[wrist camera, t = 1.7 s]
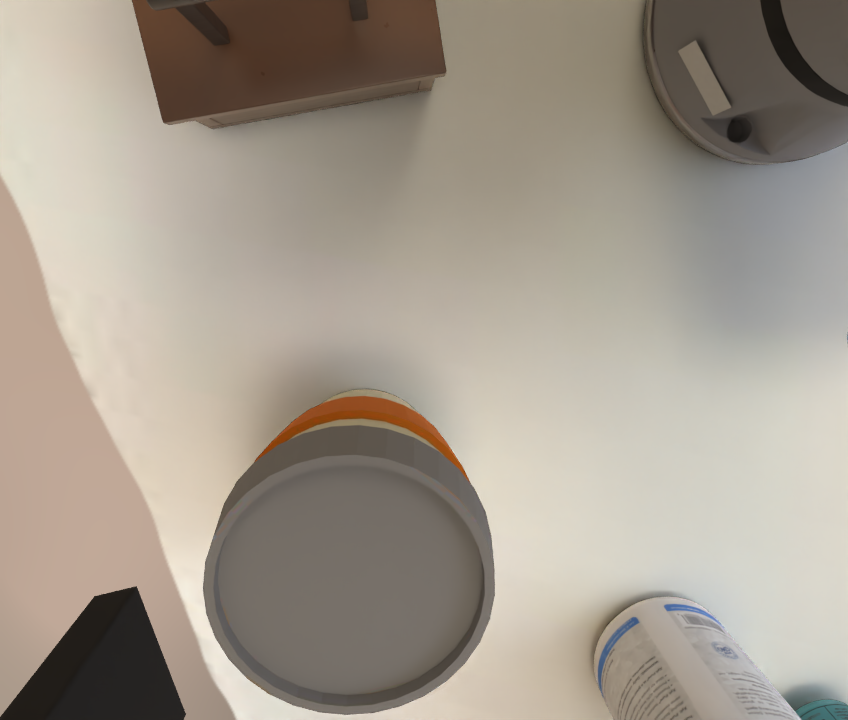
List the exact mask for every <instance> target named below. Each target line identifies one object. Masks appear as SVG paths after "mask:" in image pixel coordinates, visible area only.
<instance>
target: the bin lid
mask: <svg viewBox="0 0 848 720" xmlns="http://www.w3.org/2000/svg"><path fill="white" fill-rule="evenodd" d="M132 2H133V6H134V10H135V14H136V18H137V22H138V26H139V30H140V34H141V38H142V42H143V46H144V50H145V54H146V57H147V61H148V65H149V69H150V73H151V77H152V81H153V85H154V89H155V93H156V97H157V101H158V105H159V109H160V112H161V116H162V120H163V123H165V124H168V125H173V124H179V123H185V122H190V121H196V120H201V119H207V118H213V117H218V116H224V115H230V114H235V113H241V112H247V111H252V110H258V109H263V108H269V107H275V106H280V105H286V104H292V103H297V102H303V101H308V100H314V99H320V98H325V97H331V96H337V95H342V94H348V93H353V92H359V91H365V90H370V89H376V88H382V87H387V86H393V85H399V84H404V83H410V82H415V81H421V80H427V79H432V78H438V77H444V76H445V74H446V66H445V60H444V53H443V47H442V40H441V34H440V27H439V21H438V14H437V8H436V1H435V0H132Z"/></svg>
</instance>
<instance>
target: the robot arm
mask: <svg viewBox="0 0 848 720" xmlns="http://www.w3.org/2000/svg"><path fill="white" fill-rule="evenodd" d="M643 35H644V51H645V59H646V64H647V69H648V73H649V76H650V80H651V83H652V86H653V88H654V91H655V93H656V95H657V98H658V100H659V101H660V103H661V105H662V107H663V109H664V110H665V112H666V113H667V115H668V116H669V118H670V119H671V120H672V122H673V123H674V124H675V125H676V126H677V127H678V129H679V130H680V131H681V132H682V133H683V134H685V135H686V136H687V137H688V138H689V139H690V140H692V141H693V142H694V143H695V144H697V145H698V146H700V147H701V148H703V149H705V150H706V151H708V152H710V153H712V154H715V155H717V156H719V157H722V158H725V159H728V160H731V161H735V162H740V163H747V164H775V163H784V162H791V161H796V160H801V159H806V158H809V157H812V156H815V155H818V154H820V153H823V152H826V151H828V150H831V149H833V148H836V147H838V146H840V145H842V144H844V143H846V142H848V0H647V1H646V8H645V14H644V28H643ZM847 342H848V334H847ZM185 715H186V713H185V711H184V708H183V706H182V703H181V701H180V698H179V696H178V693H177V690H176V687H175V685H174V682H173V680H172V677H171V675H170V672H169V669H168V667H167V664H166V662H165V659H164V656H163V654H162V651H161V649H160V646H159V644H158V641H157V638H156V636H155V633H154V631H153V628H152V625H151V623H150V620H149V617H148V615H147V612H146V610H145V607H144V604H143V602H142V599H141V597H140V594H139V591H138V589H137V587H132V588H127V589H123V590H119V591H115V592H111V593H107V594H102V595H99V596H94V598H93V599H92V600H91V602H90V603H89V604H88V605H87V607H86V608H85V609H84V611H83V612H82V613H81V614H80V616H79V617H78V618H77V620H76V621H75V622H74V623H73V625H72V626H71V627H70V629H69V630H68V631H67V632H66V634H65V635H64V636H63V637H62V639H61V640H60V641H59V643H58V644H57V645H56V646H55V648H54V649H53V650H52V652H51V653H50V654H49V655H48V657H47V658H46V659H45V661H44V662H43V663H42V664H41V666H40V667H39V668H38V670H37V671H36V672H35V673H34V675H33V676H32V677H31V678H30V680H29V681H28V682H27V684H26V685H25V686H24V687H23V689H22V690H21V691H20V693H19V694H18V695H17V697H16V698H15V699H14V700H13V702H12V703H11V704H10V705H9V707H8V708H7V709H6V710H5V712H4V713H3V714H2V716H1V717H0V720H184V717H185Z"/></svg>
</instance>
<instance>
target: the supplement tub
mask: <svg viewBox="0 0 848 720" xmlns="http://www.w3.org/2000/svg"><path fill="white" fill-rule="evenodd" d="M594 673H595V678H596V682H597V684H598V686H599V689H600V691H601V693H602V696H603V698H604V700H605V702H606V705H607V707H608V709H609V711H610V713H611V715H612V717H613V720H802V719H801V718H800V717H799V716H798V715H797V713H796V712H795V711H794V710H793V709H792V708H791V706H790V705H789V704H788V703H787V702H786V700H785V699H784V698H783V697H782V696H781V695H780V693H779V692H778V691H777V690H776V689H775V687H774V686H773V685H772V684H771V683H770V681H769V680H768V679H767V678H766V677H765V676H764V674H763V673H762V672H761V671H760V670H759V668H758V667H757V666H756V665H755V664H754V663H753V661H752V660H751V659H750V658H749V657H748V656H747V654H746V653H745V652H744V651H743V650H742V648H741V647H740V646H739V645H738V644H737V643H736V641H735V640H734V639H733V638H732V637H731V635H730V634H729V633H728V632H727V631H726V630H725V628H724V627H723V626H722V625H721V624H720V623H719V621H718V620H717V619H716V618H715V617H714V616H713V615H712V614H711V613H710V612H709V611H708V610H706V609H705V608H704V607H702V606H701V605H699V604H697V603H695V602H692V601H690V600H687V599H683V598H678V597H656V598H651V599H647V600H643V601H641V602H638V603H636V604H634V605H632V606H630V607H628V608H627V609H625V610H624V611H623V612H621V613H620V614H619V615H618V616H617V617H615V618H614V619H613V620H612V621H611V622H610V623H609V625H608V626H607V627H606V628H605V630H604V631H603V633H602V635H601V636H600V639H599V641H598V644H597V646H596V651H595V656H594Z"/></svg>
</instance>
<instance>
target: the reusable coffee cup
mask: <svg viewBox="0 0 848 720" xmlns="http://www.w3.org/2000/svg"><path fill="white" fill-rule="evenodd" d="M203 592H204V599H205V607H206V614H207V616H208V619H209V622H210V625H211V627H212V630H213V633H214V636H215V638H216V640H217V641H218V643H219V644H220V646H221V648H222V649H223V651H224V652H225V654H226V656H227V657H228V659H229V660H230V661H231V662H232V663H233V664H234V665H235V666H236V667H237V668H238V669H239V670H240V672H241V673H242V674H243V675H244V676H245V677H246V678H247V679H249V680H250V681H251V682H253V683H254V684H256V685H257V686H258V687H260V688H261V689H263V690H264V691H266V692H267V693H268V694H270V695H272V696H275V697H277V698H279V699H281V700H283V701H285V702H287V703H290V704H292V705H294V706H298V707H302V708H306V709H309V710H313V711H317V712H322V713H333V714H344V715H350V714H364V713H375V712H379V711H383V710H387V709H391V708H395V707H399V706H402V705H404V704H406V703H409V702H411V701H413V700H416V699H418V698H420V697H423V696H425V695H426V694H428V693H429V692H431V691H432V690H434V689H435V688H437V687H438V686H440V685H441V684H443V683H444V682H446V681H447V680H448V679H449V678H450V677H451V676H452V675H453V674H454V673H455V672H456V671H457V670H458V669H460V668H461V667H462V666H463V665H464V664H465V662H466V661H467V660H468V658H469V657H470V655H471V654H472V653H473V651H474V650H475V648H476V647H477V645H478V644H479V643H480V640H481V638H482V636H483V633H484V631H485V629H486V627H487V624H488V622H489V620H490V615H491V610H492V605H493V601H494V596H495V582H494V561H493V550H492V540H491V533H490V529H489V525H488V521H487V516H486V512H485V510H484V508H483V506H482V504H481V501H480V499H479V497H478V495H477V493H476V491H475V489H474V488H473V486H472V485H471V483H470V481H469V479H468V477H467V475H466V473H465V471H464V469H463V467H462V465H461V464H460V462H459V461H458V459H457V458H456V456H455V455H454V453H453V451H452V450H451V448H450V447H449V445H448V444H447V442H446V441H445V440H444V438H443V437H442V436H441V434H440V433H439V432H438V431H437V429H436V428H435V427H434V426H433V425H432V424H431V423H430V422H428V421H427V420H426V419H425V418H424V417H423V416H422V415H420V414H419V413H418V412H417V411H416V410H415V409H414V408H413V407H412V406H410V405H409V404H408V403H407V402H405V401H404V400H402V399H400V398H398V397H396V396H395V395H392V394H389V393H386V392H383V391H377V390H370V389H362V390H351V391H347V392H343V393H340V394H337V395H335V396H333V397H331V398H329V399H327V400H326V401H324V402H323V403H321V404H320V405H318V406H316V407H314V408H311V409H309V410H308V411H306V412H305V413H303V414H302V415H301V416H299V417H298V418H297V419H295V420H294V421H293V422H292V423H290V424H289V425H288V426H287V427H286V428H285V429H284V430H283V431H282V432H281V433H280V434H279V435H278V436H277V437H276V438H275V439H274V440H273V441H272V442H271V443H270V444H269V445H268V447H267V448H266V449H265V450H264V451H263V452H262V453H261V454H260V455H259V456H258V458H257V459H256V460H255V462H254V463H253V465H252V466H251V467H250V468H249V469H248V470H247V471H246V472H245V473H244V474H243V475H242V477H241V478H240V479H239V480H238V481H237V483H236V484H235V486H234V488H233V489H232V491H231V493H230V494H229V496H228V498H227V500H226V501H225V503H224V506H223V509H222V512H221V515H220V518H219V521H218V524H217V527H216V530H215V533H214V536H213V540H212V543H211V546H210V549H209V552H208V555H207V559H206V562H205V572H204V583H203Z"/></svg>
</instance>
